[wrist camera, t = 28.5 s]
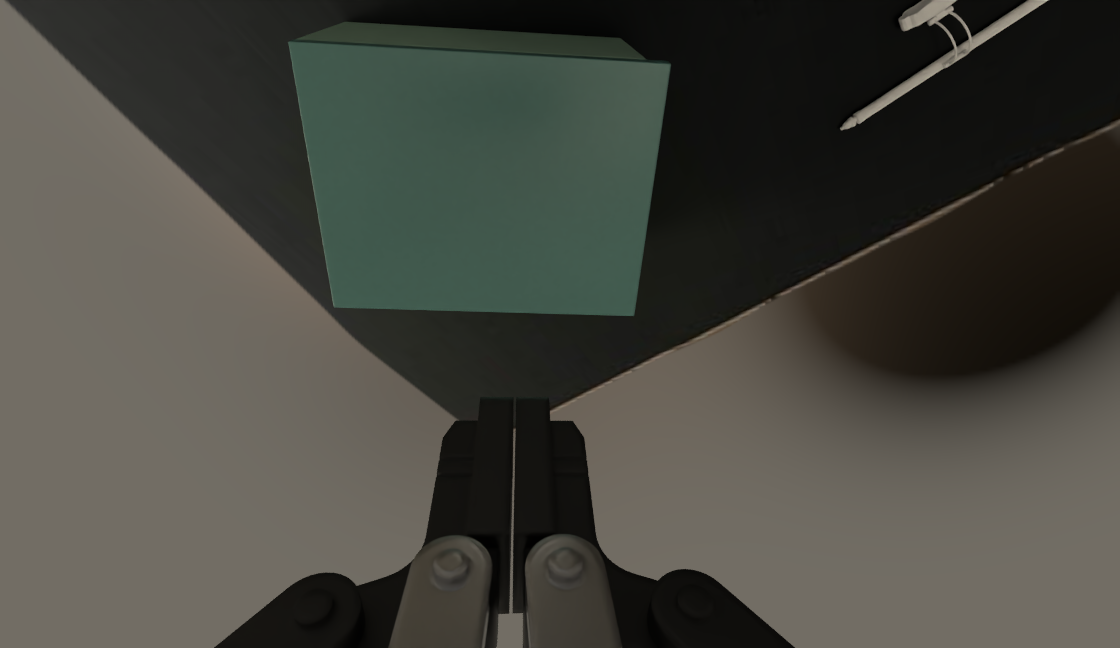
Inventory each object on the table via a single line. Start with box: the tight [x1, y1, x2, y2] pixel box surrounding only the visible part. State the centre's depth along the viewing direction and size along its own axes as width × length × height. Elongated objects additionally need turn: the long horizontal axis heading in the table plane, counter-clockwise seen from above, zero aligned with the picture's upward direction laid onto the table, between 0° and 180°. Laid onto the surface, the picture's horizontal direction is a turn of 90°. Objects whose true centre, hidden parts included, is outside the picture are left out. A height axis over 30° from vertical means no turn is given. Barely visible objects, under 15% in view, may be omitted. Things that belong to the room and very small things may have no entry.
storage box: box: [298, 22, 646, 60], centre depth 33 cm, size 16×13×8 cm
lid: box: [289, 39, 671, 316], centre depth 29 cm, size 16×13×1 cm
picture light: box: [840, 0, 1048, 130], centre depth 33 cm, size 14×4×2 cm, turn 126°
